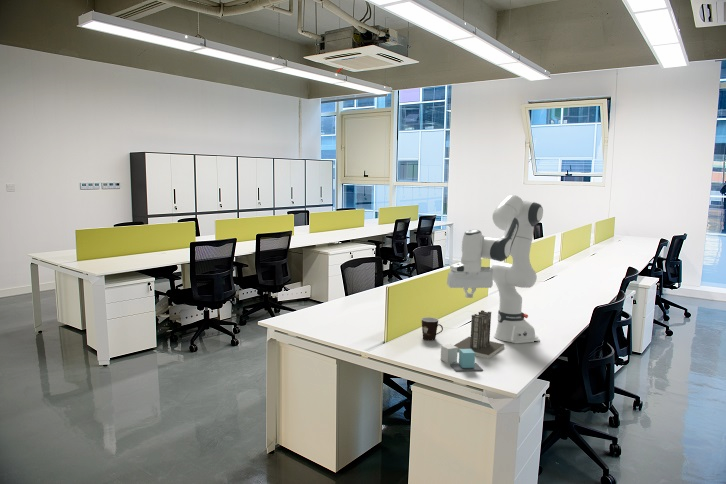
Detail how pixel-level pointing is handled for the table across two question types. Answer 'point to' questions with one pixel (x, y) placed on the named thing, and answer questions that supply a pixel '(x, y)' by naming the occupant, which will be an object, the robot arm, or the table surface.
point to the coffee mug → (430, 328)
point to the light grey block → (449, 353)
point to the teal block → (466, 358)
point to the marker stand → (459, 369)
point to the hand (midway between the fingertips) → (469, 297)
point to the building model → (480, 337)
